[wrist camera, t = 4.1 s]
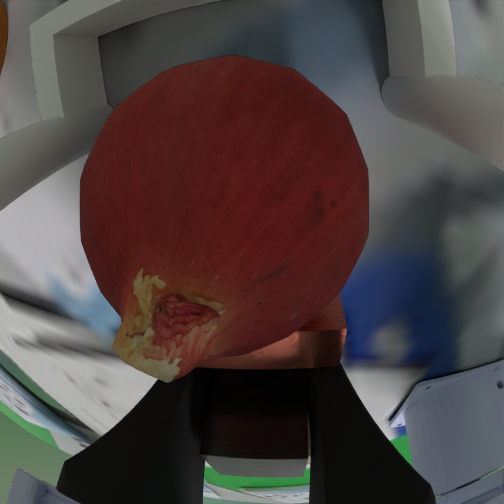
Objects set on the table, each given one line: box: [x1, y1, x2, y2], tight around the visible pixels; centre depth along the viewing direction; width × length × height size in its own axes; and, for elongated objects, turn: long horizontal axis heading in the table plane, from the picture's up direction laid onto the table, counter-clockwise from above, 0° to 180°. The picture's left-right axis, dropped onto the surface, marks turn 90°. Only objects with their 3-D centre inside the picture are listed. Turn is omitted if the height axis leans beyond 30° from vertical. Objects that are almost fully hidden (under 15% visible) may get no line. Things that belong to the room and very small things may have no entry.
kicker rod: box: [196, 294, 347, 477], centre depth 13 cm, size 5×19×7 cm, turn 6°
